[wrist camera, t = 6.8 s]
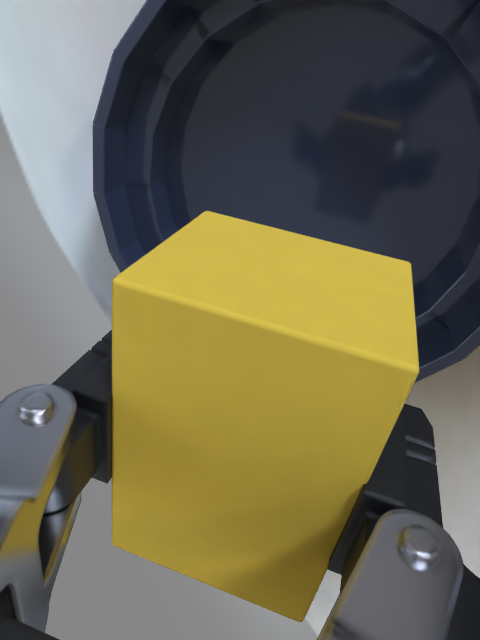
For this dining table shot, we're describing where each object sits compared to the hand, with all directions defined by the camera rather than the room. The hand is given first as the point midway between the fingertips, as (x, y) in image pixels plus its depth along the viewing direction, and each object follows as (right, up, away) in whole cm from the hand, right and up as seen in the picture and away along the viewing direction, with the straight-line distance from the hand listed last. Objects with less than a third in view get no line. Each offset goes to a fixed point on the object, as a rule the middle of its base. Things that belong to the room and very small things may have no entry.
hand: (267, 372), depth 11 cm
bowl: (+3, +8, +11) cm, 14 cm away
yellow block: (0, 0, 0) cm, 1 cm away
